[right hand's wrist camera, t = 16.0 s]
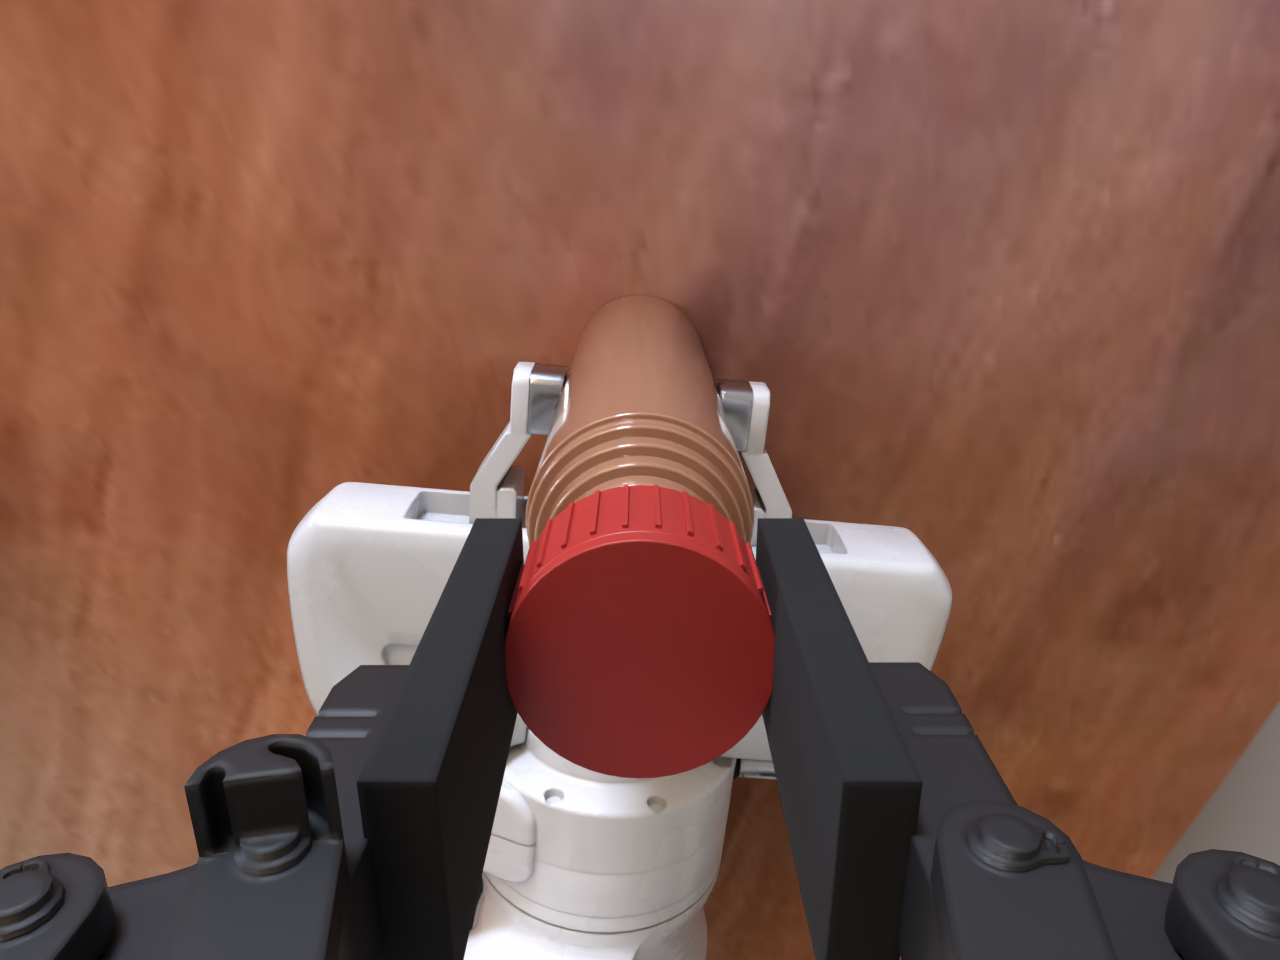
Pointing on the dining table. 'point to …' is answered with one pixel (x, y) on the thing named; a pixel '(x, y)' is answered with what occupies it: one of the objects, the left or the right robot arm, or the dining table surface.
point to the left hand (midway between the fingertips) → (641, 375)
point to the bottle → (639, 418)
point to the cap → (639, 634)
